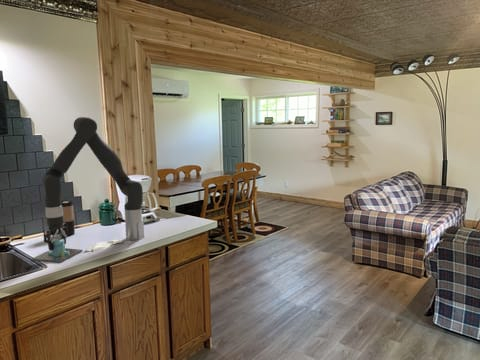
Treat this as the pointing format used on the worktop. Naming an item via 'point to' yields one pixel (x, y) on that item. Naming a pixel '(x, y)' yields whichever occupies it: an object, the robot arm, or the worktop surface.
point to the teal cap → (58, 248)
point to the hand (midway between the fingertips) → (57, 246)
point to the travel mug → (68, 216)
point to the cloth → (103, 245)
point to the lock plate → (57, 259)
